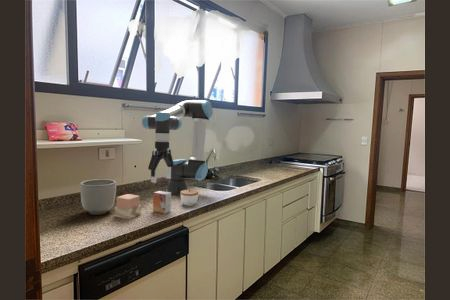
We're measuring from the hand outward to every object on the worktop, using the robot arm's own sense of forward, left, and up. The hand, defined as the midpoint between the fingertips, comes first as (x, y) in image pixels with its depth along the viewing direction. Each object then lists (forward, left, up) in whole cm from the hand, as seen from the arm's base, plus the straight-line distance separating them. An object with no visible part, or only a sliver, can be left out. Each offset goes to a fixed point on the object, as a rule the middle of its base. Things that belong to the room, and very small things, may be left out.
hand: (161, 180), depth 152 cm
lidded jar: (-20, +6, -17) cm, 27 cm away
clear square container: (+13, -11, -17) cm, 24 cm away
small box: (-1, 0, -17) cm, 17 cm away
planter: (+17, -27, -17) cm, 36 cm away
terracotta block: (+13, -11, -12) cm, 21 cm away
